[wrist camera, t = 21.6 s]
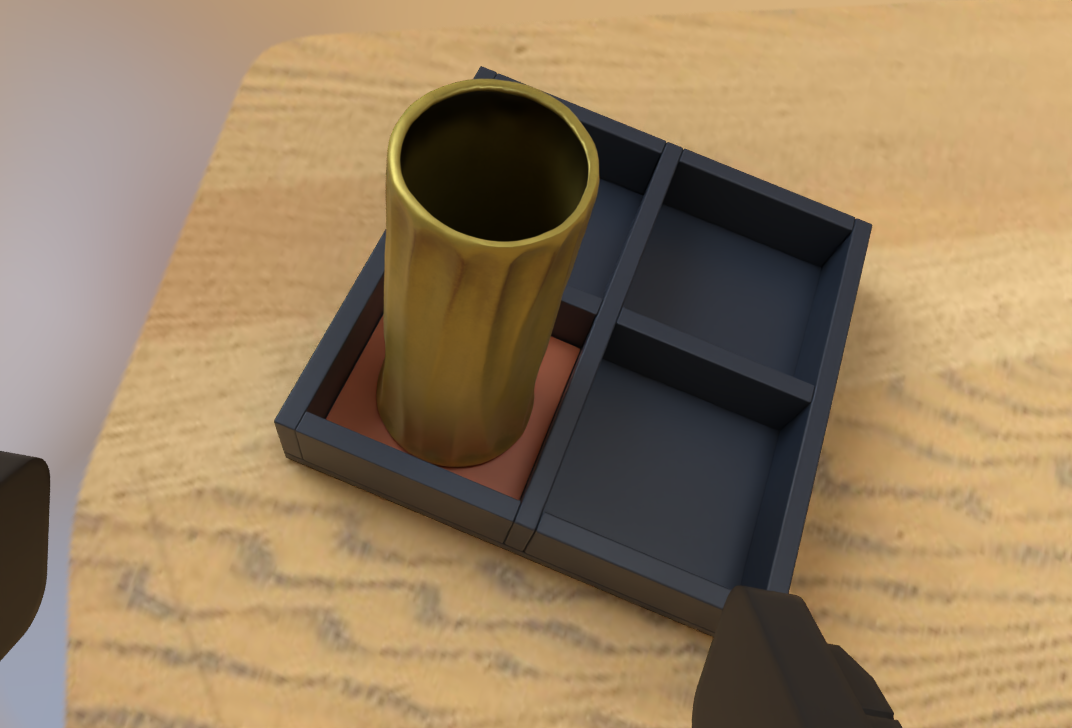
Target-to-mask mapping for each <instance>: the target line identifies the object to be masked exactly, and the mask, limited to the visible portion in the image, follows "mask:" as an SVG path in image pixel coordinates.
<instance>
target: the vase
mask: <svg viewBox="0 0 1072 728" xmlns="http://www.w3.org/2000/svg"><path fill="white" fill-rule="evenodd" d="M598 187H599V159H598V153H597V149H596V146H595V144H594V142H593V140H592V138H591V136H590V135H589V133H588V132H587V130H586V129H585V128H584V126H583V125H582V123H581V122H580V121H579V119H578V118H577V117H576V116H575V114H574V113H573V112H572V111H571V110H570V109H569V108H568V107H566V106H565V105H564V104H563V103H561V102H560V101H558V100H557V99H555V98H554V97H552V96H550V95H548V94H546V93H544V92H542V91H540V90H538V89H536V88H533V87H531V86H528V85H525V84H521V83H517V82H511V81H504V80H497V79H472V80H465V81H460V82H455V83H452V84H449V85H446V86H443V87H440V88H438V89H436V90H433V91H431V92H429V93H427V94H425V95H424V96H423V97H421V98H420V99H418V100H417V101H415V102H414V103H413V104H411V105H410V106H409V107H408V109H407V110H406V111H405V112H404V114H403V115H402V116H401V117H400V119H399V121H398V122H397V124H396V125H395V127H394V129H393V131H392V134H391V137H390V140H389V144H388V150H387V167H386V242H385V271H384V321H383V322H384V340H385V348H386V349H385V358H384V360H383V363H382V366H381V369H380V373H379V376H378V382H377V391H376V399H377V407H378V411H379V414H380V417H381V419H382V421H383V424H384V425H385V427H386V429H387V430H388V432H389V433H390V435H391V436H392V437H393V438H394V440H395V441H396V442H397V443H398V444H399V445H400V446H401V447H402V448H404V449H405V450H406V451H408V452H409V453H410V454H412V455H414V456H416V457H418V458H420V459H422V460H424V461H427V462H429V463H432V464H436V465H440V466H447V467H465V466H472V465H477V464H481V463H484V462H487V461H489V460H491V459H494V458H496V457H497V456H499V455H501V454H502V453H504V452H505V451H506V450H508V449H509V448H510V447H511V446H512V445H513V444H514V443H515V442H516V441H517V440H518V439H519V438H520V437H521V436H522V434H523V433H524V431H525V429H526V426H527V424H528V422H529V419H530V416H531V413H532V409H533V405H534V398H535V395H534V388H535V382H536V379H537V375H538V372H539V369H540V366H541V363H542V360H543V358H544V355H545V352H546V350H547V347H548V344H549V341H550V337H551V334H552V330H553V327H554V324H555V320H556V317H557V313H558V310H559V307H560V303H561V299H562V295H563V292H564V290H565V287H566V285H567V282H568V280H569V277H570V275H571V272H572V269H573V266H574V263H575V260H576V257H577V254H578V251H579V248H580V245H581V242H582V239H583V237H584V234H585V231H586V228H587V225H588V222H589V219H590V216H591V212H592V209H593V206H594V204H595V201H596V197H597V193H598Z"/></svg>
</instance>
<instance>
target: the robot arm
mask: <svg viewBox="0 0 1072 728" xmlns="http://www.w3.org/2000/svg"><path fill="white" fill-rule="evenodd" d="M49 503H50V473H49V468H48V465H47V464H46V462H45V461H44V460H43V459H41V458H37V457H31V456H26V455H20V454H15V453H9V452H4V451H0V661H1V660H2V659H3V657H4V656H5V655H6V654H7V653H8V652H9V650H11V649H12V647H13V646H14V645H15V644H16V643H17V642H18V641H19V640H20V638H21V637H22V636H23V635H24V634H25V632H26V631H27V630H28V628H29V627H30V625H31V623H32V622H33V620H34V618H35V616H36V614H37V612H38V609H39V607H40V604H41V601H42V598H43V595H44V591H45V586H46V579H47V559H48V531H49ZM893 715H894V713H893V711H892V709H891V707H890V706H889V704H888V702H887V701H886V699H885V697H884V695H883V694H882V692H881V690H880V689H879V687H878V685H877V684H876V682H875V680H874V678H873V677H872V676H871V675H869V674H868V673H867V672H866V671H865V670H864V669H863V668H862V667H861V666H860V665H859V664H858V663H857V662H856V661H855V660H854V659H853V658H852V657H851V656H850V655H848V654H847V653H846V652H845V651H844V650H843V649H842V648H841V647H840V646H838V645H833V644H827V643H826V641H825V639H824V637H823V635H822V633H821V632H820V630H819V628H818V626H817V624H816V622H815V620H814V619H813V617H812V615H811V613H810V611H809V609H808V608H807V606H806V604H805V602H804V601H803V599H802V598H801V597H799V596H797V595H792V594H786V593H781V592H775V591H769V590H764V589H758V588H753V587H747V586H741V585H737V586H735V587H734V588H733V589H732V590H731V591H730V593H729V595H728V597H727V599H726V601H725V604H724V607H723V610H722V613H721V616H720V619H719V622H718V625H717V628H716V631H715V634H714V637H713V640H712V643H711V646H710V649H709V652H708V656H707V659H706V662H705V665H704V668H703V671H702V674H701V677H700V680H699V683H698V686H697V689H696V693H695V697H694V703H693V712H692V728H902V726H901V724H900V723H899V721H898V720H894V718H893Z"/></svg>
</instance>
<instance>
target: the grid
mask: <svg viewBox="0 0 1072 728" xmlns="http://www.w3.org/2000/svg"><path fill="white" fill-rule="evenodd" d="M474 79H497V80H504V81H511V82H517V83H521V82H518V81H516V80H514V79H511V78H509V77H506V76H504V75H501V74H497V73H496V72H494V71H492V70H489V69H487V68H484V67H482V66H481V67H480V68H479V70H478V72H477V73H476V75H475V77H474ZM521 84H523V83H521ZM525 85H526V84H525ZM540 91H541V90H540ZM542 92H543V91H542ZM544 93H546V92H544ZM546 94H548V93H546ZM548 95H550V96H552V97H554V98H555V99H557V100H558V101H560V102H561V103H563V104H564V105H565V106H566V107H568V108H569V109H570V110H571V111H572V112H573V113H574V114H575V116H576V117H577V118H578V119H579V121H580V122H581V123H582V125H583V126H584V128H585V129H586V130H587V132H588V133H589V135H590V136H591V138H592V140H593V142H594V144H595V146H596V149H597V153H598V159H599V187H598V193H597V197H596V201H595V204H594V206H593V209H592V212H591V216H590V219H589V222H588V225H587V228H586V231H585V234H584V237H583V239H582V242H581V245H580V248H579V251H578V254H577V257H576V260H575V263H574V266H573V269H572V272H571V275H570V277H569V280H568V282H567V285H566V287H565V290H564V292H563V295H562V299H561V303H560V307H559V310H558V313H557V317H556V320H555V324H554V327H553V330H552V334H551V337H550V341H549V344H548V347H547V350H546V352H545V355H544V358H543V360H542V363H541V366H540V369H539V372H538V375H537V379H536V382H535V388H534V395H535V398H534V405H533V409H532V413H531V416H530V419H529V422H528V424H527V426H526V429H525V431H524V433H523V434H522V436H521V437H520V438H519V439H518V440H517V441H516V442H515V443H514V444H513V445H512V446H511V447H510V448H509V449H508V450H506V451H505V452H504V453H502V454H501V455H499V456H497V457H496V458H494V459H491V460H489V461H487V462H484V463H481V464H477V465H472V466H465V467H447V466H440V465H436V464H432V463H429V462H427V461H424V460H422V459H420V458H418V457H416V456H414V455H412V454H410V453H409V452H408V451H406V450H405V449H404V448H402V447H401V446H400V445H399V444H398V443H397V442H396V441H395V440H394V438H393V437H392V436H391V435H390V433H389V432H388V430H387V429H386V427H385V425H384V424H383V421H382V419H381V417H380V414H379V411H378V407H377V399H376V391H377V382H378V376H379V373H380V369H381V366H382V363H383V360H384V358H385V349H386V348H385V340H384V322H383V321H384V271H385V242H386V230H385V231H384V233H383V235H382V236H381V238H380V240H379V242H378V243H377V245H376V247H375V249H374V250H373V252H372V254H371V255H370V257H369V259H368V261H367V262H366V264H365V266H364V267H363V269H362V271H361V273H360V274H359V276H358V278H357V279H356V281H355V283H354V285H353V286H352V288H351V290H350V291H349V293H348V295H347V297H346V298H345V300H344V302H343V303H342V305H341V307H340V309H339V310H338V312H337V314H336V315H335V317H334V319H333V321H332V322H331V324H330V326H329V327H328V329H327V331H326V333H325V334H324V336H323V338H322V339H321V341H320V343H319V345H318V346H317V348H316V350H315V352H314V353H313V355H312V357H311V358H310V360H309V362H308V364H307V365H306V367H305V369H304V370H303V372H302V374H301V376H300V377H299V379H298V381H297V382H296V384H295V386H294V388H293V389H292V391H291V393H290V394H289V396H288V398H287V400H286V401H285V403H284V405H283V406H282V408H281V410H280V412H279V413H278V415H277V417H276V418H275V420H274V423H275V426H276V429H277V432H278V435H279V438H280V441H281V444H282V447H283V450H284V453H285V456H286V457H287V458H290V459H292V460H294V461H297V462H299V463H301V464H304V465H306V466H309V467H311V468H313V469H316V470H318V471H320V472H323V473H325V474H328V475H330V476H332V477H335V478H337V479H339V480H342V481H344V482H347V483H349V484H351V485H354V486H356V487H358V488H361V489H363V490H366V491H368V492H370V493H373V494H375V495H378V496H380V497H382V498H385V499H387V500H389V501H392V502H394V503H397V504H399V505H401V506H404V507H406V508H408V509H411V510H413V511H416V512H418V513H420V514H423V515H425V516H427V517H430V518H432V519H435V520H437V521H439V522H442V523H444V524H446V525H449V526H451V527H454V528H456V529H458V530H461V531H463V532H465V533H468V534H470V535H473V536H475V537H477V538H480V539H482V540H484V541H487V542H489V543H492V544H494V545H496V546H499V547H501V548H504V549H506V550H508V551H511V552H513V553H515V554H518V555H520V556H523V557H525V558H527V559H530V560H532V561H534V562H537V563H539V564H542V565H544V566H546V567H549V568H551V569H553V570H556V571H558V572H561V573H563V574H565V575H568V576H570V577H572V578H575V579H577V580H580V581H582V582H584V583H587V584H589V585H591V586H594V587H596V588H599V589H601V590H603V591H606V592H608V593H610V594H613V595H615V596H618V597H620V598H622V599H625V600H627V601H630V602H632V603H634V604H637V605H639V606H641V607H644V608H646V609H649V610H651V611H653V612H656V613H658V614H660V615H663V616H665V617H668V618H670V619H672V620H675V621H677V622H679V623H682V624H684V625H687V626H689V627H691V628H694V629H696V630H698V631H701V632H703V633H706V634H708V635H710V636H713V637H714V634H715V631H716V628H717V625H718V622H719V619H720V616H721V613H722V610H723V607H724V604H725V601H726V599H727V597H728V595H729V593H730V591H731V590H732V589H733V588H734V587H735V586H737V585H741V586H747V587H753V588H758V589H764V590H769V591H775V592H781V593H786V594H789V589H790V585H791V580H792V576H793V572H794V567H795V563H796V559H797V554H798V550H799V545H800V541H801V537H802V532H803V528H804V523H805V519H806V515H807V510H808V506H809V501H810V497H811V493H812V488H813V484H814V480H815V475H816V471H817V466H818V462H819V458H820V453H821V449H822V444H823V440H824V436H825V431H826V427H827V422H828V418H829V414H830V409H831V405H832V401H833V396H834V392H835V387H836V383H837V379H838V374H839V370H840V365H841V361H842V357H843V352H844V348H845V343H846V339H847V335H848V330H849V326H850V322H851V317H852V313H853V308H854V304H855V300H856V295H857V291H858V286H859V282H860V278H861V273H862V269H863V264H864V260H865V256H866V251H867V247H868V242H869V238H870V234H871V229H872V224H870V223H867V222H865V221H862V220H860V219H855V217H853V216H851V215H848V214H846V213H843V212H841V211H838V210H836V209H833V208H831V207H828V206H826V205H823V204H821V203H818V202H816V201H813V200H811V199H808V198H806V197H803V196H801V195H799V194H796V193H794V192H791V191H789V190H786V189H784V188H781V187H779V186H776V185H774V184H771V183H769V182H766V181H764V180H761V179H759V178H756V177H754V176H751V175H749V174H746V173H744V172H742V171H739V170H737V169H734V168H732V167H729V166H727V165H724V164H722V163H719V162H717V161H714V160H712V159H709V158H707V157H704V156H702V155H699V154H697V153H694V152H692V151H690V150H687V149H684V150H683V148H682V147H679V146H677V145H674V144H672V143H669V142H667V143H666V141H665V140H662V139H660V138H657V137H655V136H652V135H650V134H647V133H645V132H642V131H640V130H637V129H635V128H632V127H630V126H627V125H625V124H623V123H620V122H618V121H615V120H613V119H610V118H608V117H605V116H603V115H600V114H598V113H595V112H593V111H590V110H588V109H585V108H583V107H580V106H578V105H575V104H573V103H570V102H568V101H566V100H563V99H561V98H558V97H556V96H553V95H551V94H548Z"/></svg>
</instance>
